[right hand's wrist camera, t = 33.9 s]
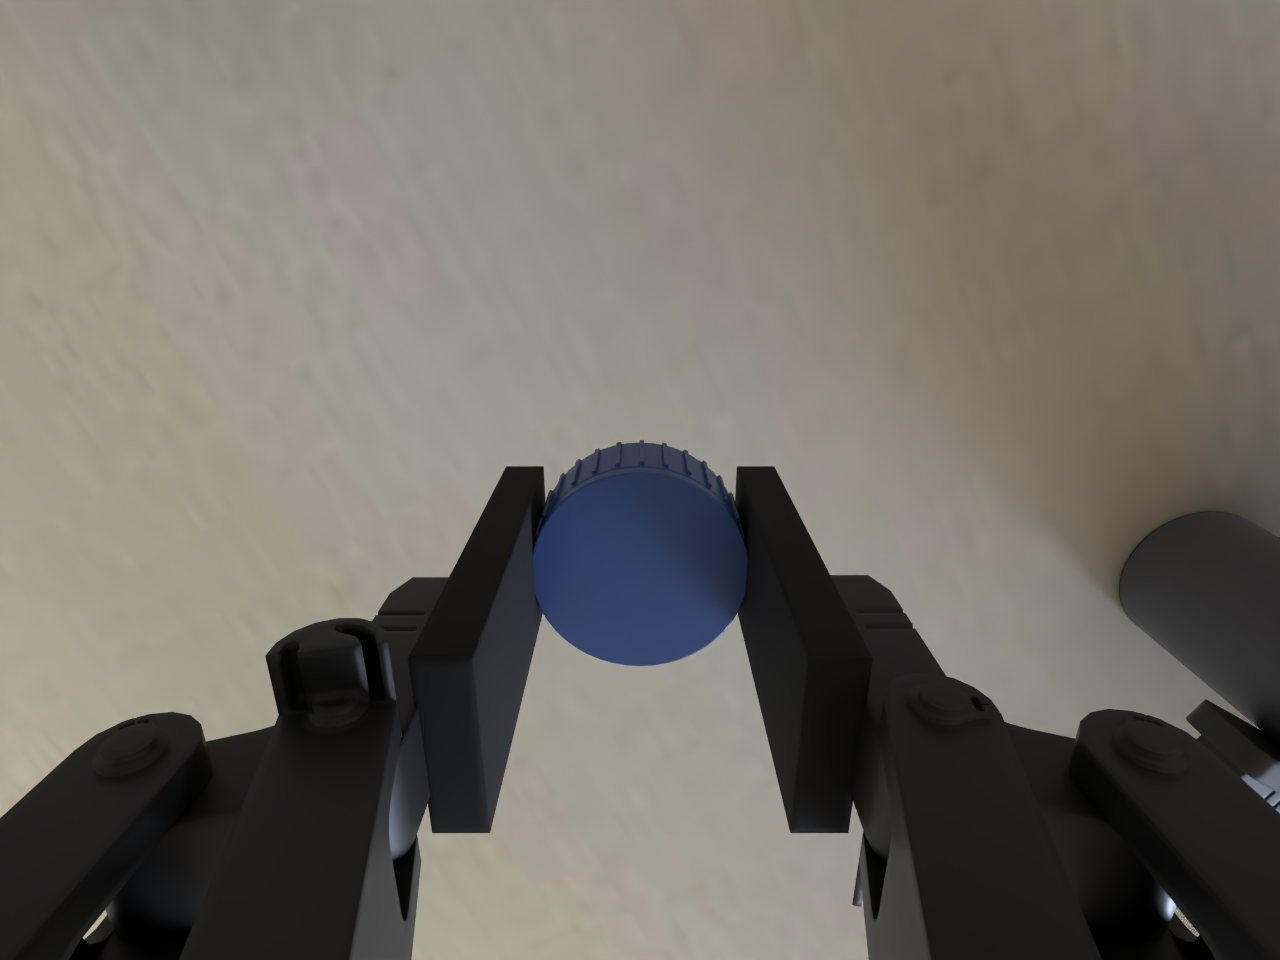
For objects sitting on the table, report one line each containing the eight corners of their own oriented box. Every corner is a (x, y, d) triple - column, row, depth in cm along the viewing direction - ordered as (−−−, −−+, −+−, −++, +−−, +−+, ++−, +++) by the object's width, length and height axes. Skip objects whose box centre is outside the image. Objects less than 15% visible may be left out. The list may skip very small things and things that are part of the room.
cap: (774, 483, 14) (792, 519, 13) (690, 644, 16) (696, 695, 14) (582, 407, 14) (574, 434, 12) (512, 581, 15) (497, 627, 13)
